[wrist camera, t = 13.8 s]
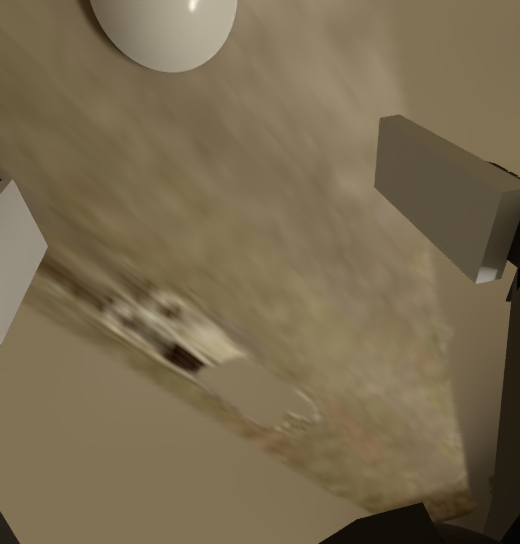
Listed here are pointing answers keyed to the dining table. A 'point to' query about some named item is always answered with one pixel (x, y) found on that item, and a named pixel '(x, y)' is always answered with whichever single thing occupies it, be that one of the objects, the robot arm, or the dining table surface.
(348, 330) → the dining table surface
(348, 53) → the dining table surface
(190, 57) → the white dome
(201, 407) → the dining table surface
